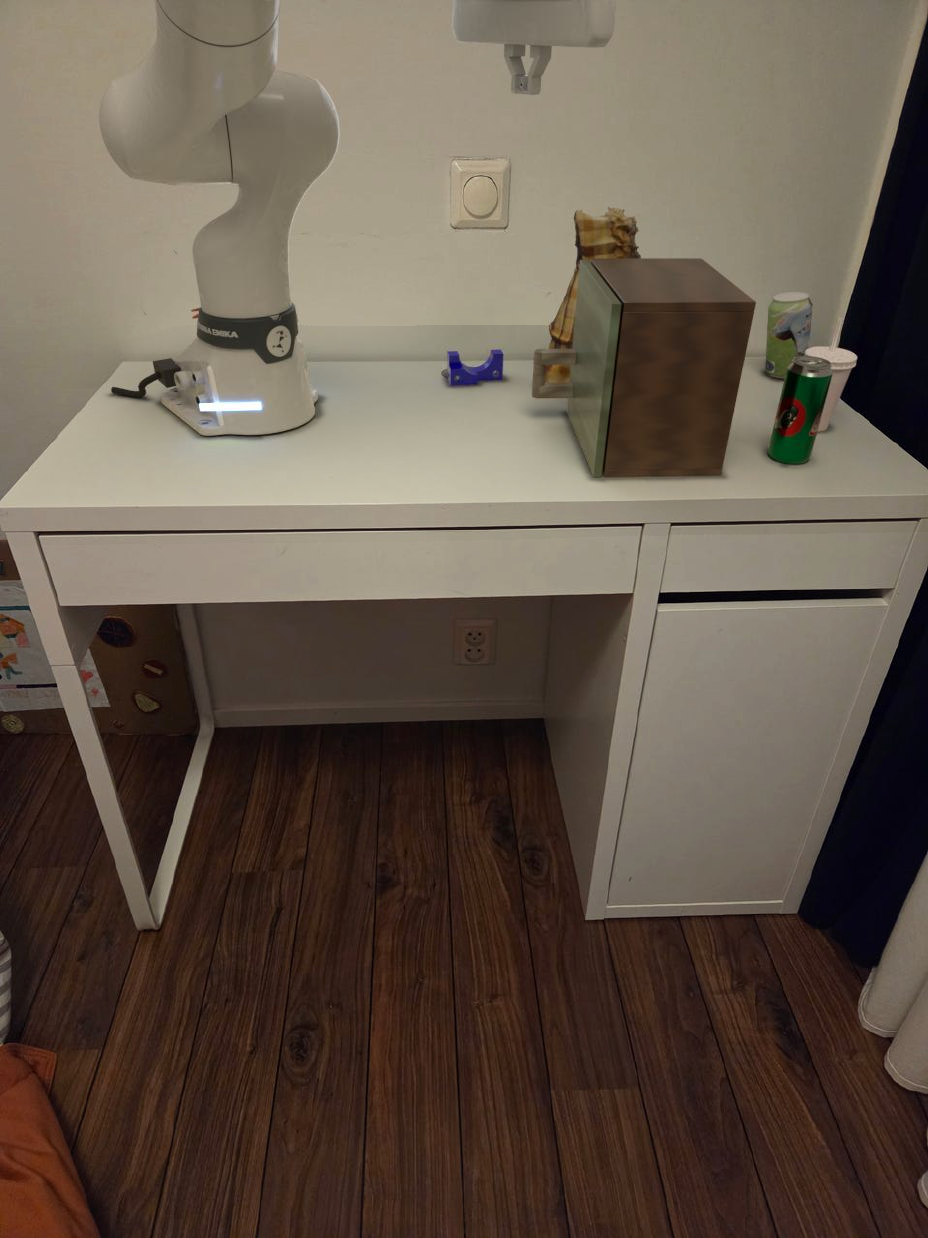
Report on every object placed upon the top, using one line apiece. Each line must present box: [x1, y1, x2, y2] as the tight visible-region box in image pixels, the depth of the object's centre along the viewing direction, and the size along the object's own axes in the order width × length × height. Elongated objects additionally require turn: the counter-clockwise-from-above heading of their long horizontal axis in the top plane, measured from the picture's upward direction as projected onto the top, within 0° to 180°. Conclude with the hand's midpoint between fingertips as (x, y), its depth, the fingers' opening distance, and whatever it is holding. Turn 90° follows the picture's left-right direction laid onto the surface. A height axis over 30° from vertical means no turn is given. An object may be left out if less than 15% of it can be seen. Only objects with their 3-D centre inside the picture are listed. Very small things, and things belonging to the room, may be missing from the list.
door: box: [531, 260, 621, 478], centre depth 102 cm, size 6×20×20 cm, turn 3°
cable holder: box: [446, 348, 504, 387], centre depth 125 cm, size 8×4×4 cm, turn 99°
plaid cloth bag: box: [545, 206, 642, 382], centre depth 119 cm, size 14×14×25 cm
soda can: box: [767, 356, 833, 466], centre depth 101 cm, size 5×5×12 cm
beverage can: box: [764, 291, 813, 380], centre depth 126 cm, size 6×7×12 cm
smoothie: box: [804, 316, 858, 433], centre depth 109 cm, size 6×6×14 cm
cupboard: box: [590, 257, 757, 479], centre depth 102 cm, size 14×20×20 cm
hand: (525, 93), depth 97 cm, fingers closed
